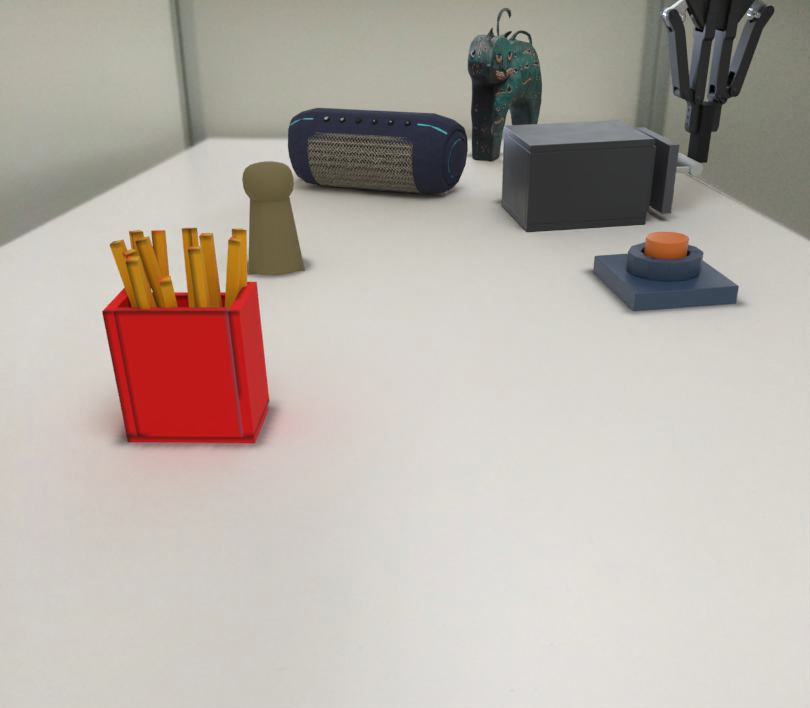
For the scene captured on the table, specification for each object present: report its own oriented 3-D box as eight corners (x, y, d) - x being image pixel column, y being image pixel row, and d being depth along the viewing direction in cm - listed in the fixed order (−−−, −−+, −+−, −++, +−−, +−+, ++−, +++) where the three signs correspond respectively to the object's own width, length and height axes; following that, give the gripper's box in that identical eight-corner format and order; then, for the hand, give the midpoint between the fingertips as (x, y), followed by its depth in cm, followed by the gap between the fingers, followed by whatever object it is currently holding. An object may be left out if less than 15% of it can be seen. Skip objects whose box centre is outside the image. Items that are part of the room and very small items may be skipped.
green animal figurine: (493, 164, 145) (497, 12, 134) (455, 160, 148) (456, 11, 137) (546, 140, 159) (554, 1, 148) (511, 137, 162) (516, 1, 151)
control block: (685, 270, 101) (690, 231, 98) (735, 308, 91) (742, 266, 88) (592, 276, 99) (595, 237, 97) (633, 316, 89) (637, 274, 87)
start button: (677, 248, 95) (679, 230, 94) (693, 260, 92) (695, 241, 91) (637, 250, 94) (639, 232, 94) (652, 263, 91) (655, 244, 90)
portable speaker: (278, 190, 134) (271, 112, 128) (311, 175, 141) (306, 101, 136) (448, 204, 125) (448, 122, 120) (473, 187, 133) (475, 108, 127)
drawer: (669, 189, 126) (677, 125, 122) (705, 211, 116) (715, 142, 112) (536, 197, 124) (539, 132, 120) (562, 220, 114) (566, 150, 110)
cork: (274, 259, 107) (264, 154, 101) (316, 268, 104) (308, 160, 98) (236, 274, 103) (223, 165, 97) (278, 283, 100) (268, 172, 94)
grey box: (610, 198, 126) (618, 119, 121) (645, 224, 116) (654, 138, 110) (501, 205, 124) (504, 125, 119) (526, 232, 114) (530, 145, 109)
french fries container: (154, 408, 75) (122, 224, 67) (271, 409, 74) (252, 223, 67) (127, 450, 69) (88, 254, 61) (254, 451, 68) (231, 253, 61)
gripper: (768, -68, 110) (734, 151, 123) (658, -65, 108) (635, 157, 121) (800, -67, 104) (760, 164, 117) (684, -64, 102) (657, 170, 115)
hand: (696, 160), depth 119 cm, fingers closed
